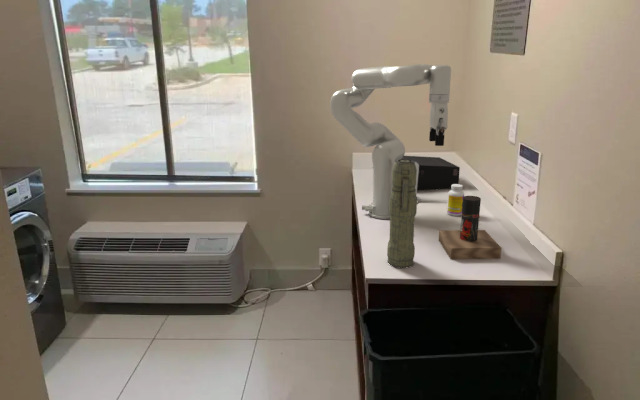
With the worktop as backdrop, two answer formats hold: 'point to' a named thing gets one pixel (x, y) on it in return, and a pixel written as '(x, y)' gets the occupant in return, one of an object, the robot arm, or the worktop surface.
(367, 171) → the worktop surface
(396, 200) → the thermos
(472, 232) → the deodorant
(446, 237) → the walnut stand
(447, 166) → the headphone box
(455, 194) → the supplement bottle
